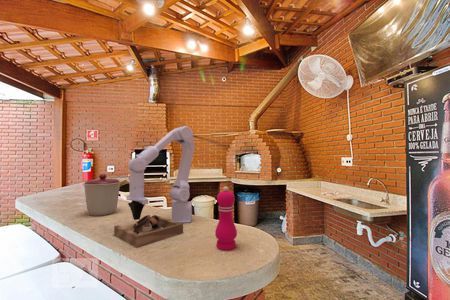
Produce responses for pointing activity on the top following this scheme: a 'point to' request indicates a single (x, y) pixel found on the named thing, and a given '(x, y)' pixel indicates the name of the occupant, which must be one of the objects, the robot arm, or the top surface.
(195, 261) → the top surface
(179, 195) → the robot arm
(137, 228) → the brown ring with stem
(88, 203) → the canister
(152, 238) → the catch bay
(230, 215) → the pepper mill
